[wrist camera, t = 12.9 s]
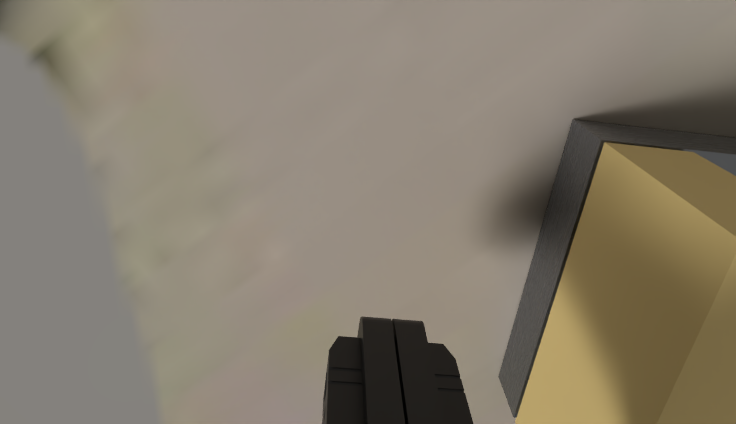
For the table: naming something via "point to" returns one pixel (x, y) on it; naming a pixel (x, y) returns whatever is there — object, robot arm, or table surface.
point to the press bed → (563, 225)
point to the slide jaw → (644, 299)
